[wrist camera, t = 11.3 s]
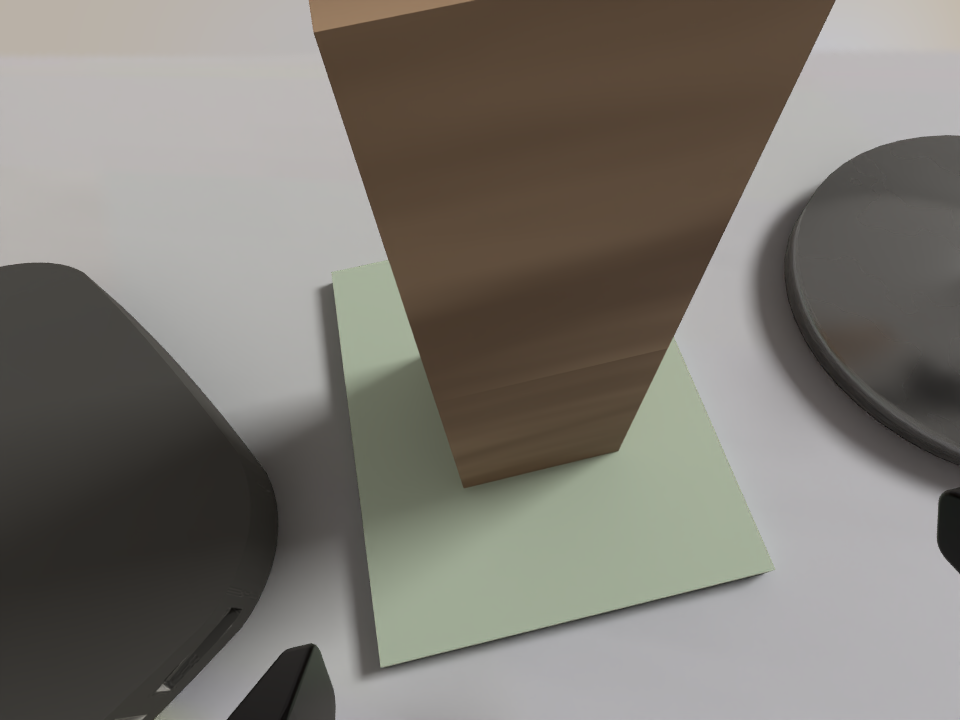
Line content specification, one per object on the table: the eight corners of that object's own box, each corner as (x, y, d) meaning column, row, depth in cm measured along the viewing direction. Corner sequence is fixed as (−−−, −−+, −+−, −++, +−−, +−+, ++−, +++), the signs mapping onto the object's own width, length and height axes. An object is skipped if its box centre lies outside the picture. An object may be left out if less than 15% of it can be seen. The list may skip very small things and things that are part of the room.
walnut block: (618, 450, 16) (874, -80, 4) (463, 488, 16) (314, 31, 4) (571, 319, 18) (664, -282, 6) (433, 350, 18) (276, -212, 6)
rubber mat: (767, 571, 15) (775, 569, 14) (385, 667, 14) (380, 667, 14) (616, 220, 20) (618, 210, 20) (335, 281, 20) (331, 272, 19)
